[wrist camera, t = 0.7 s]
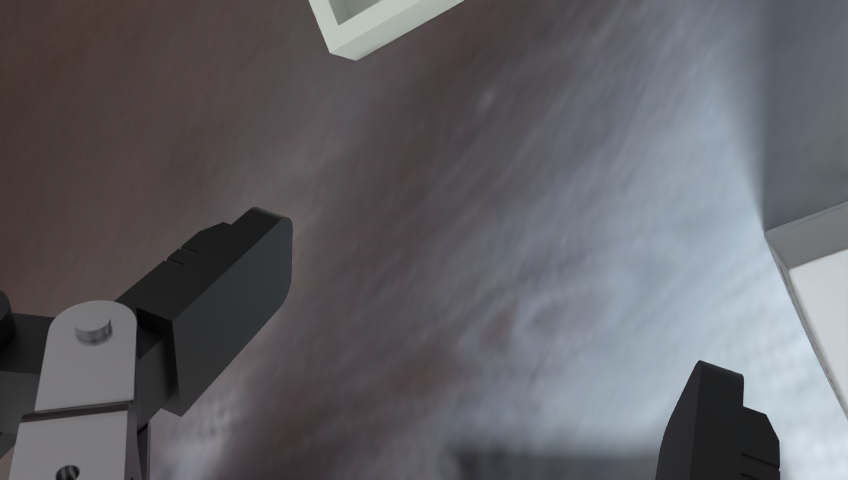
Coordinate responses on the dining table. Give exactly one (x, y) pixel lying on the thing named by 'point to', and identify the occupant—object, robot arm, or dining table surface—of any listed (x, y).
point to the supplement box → (819, 285)
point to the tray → (371, 22)
